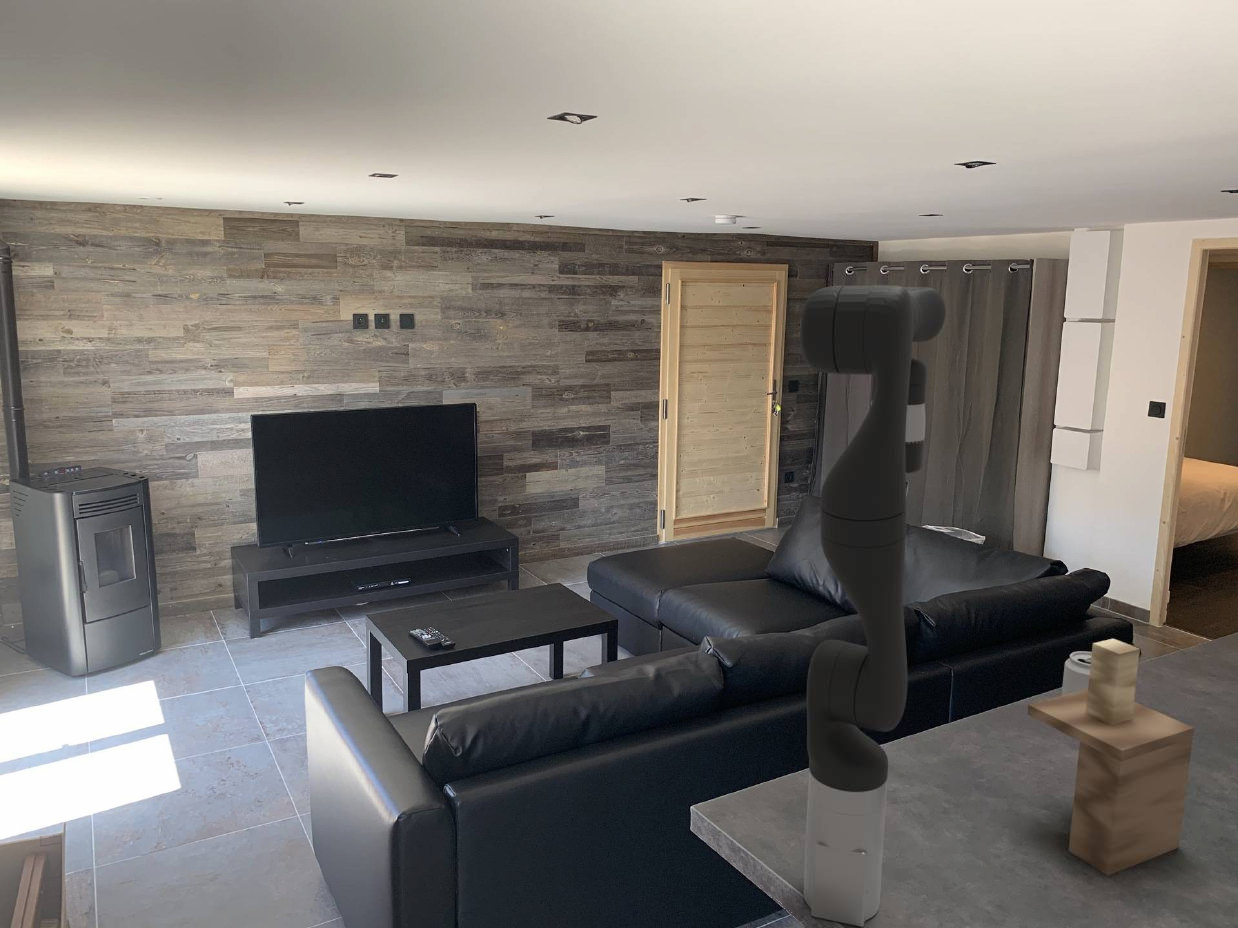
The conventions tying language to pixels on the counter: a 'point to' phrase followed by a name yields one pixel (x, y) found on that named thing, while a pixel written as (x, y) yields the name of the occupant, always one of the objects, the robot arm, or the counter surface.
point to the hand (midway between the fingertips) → (889, 548)
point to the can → (1076, 672)
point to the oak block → (1112, 681)
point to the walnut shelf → (1123, 781)
